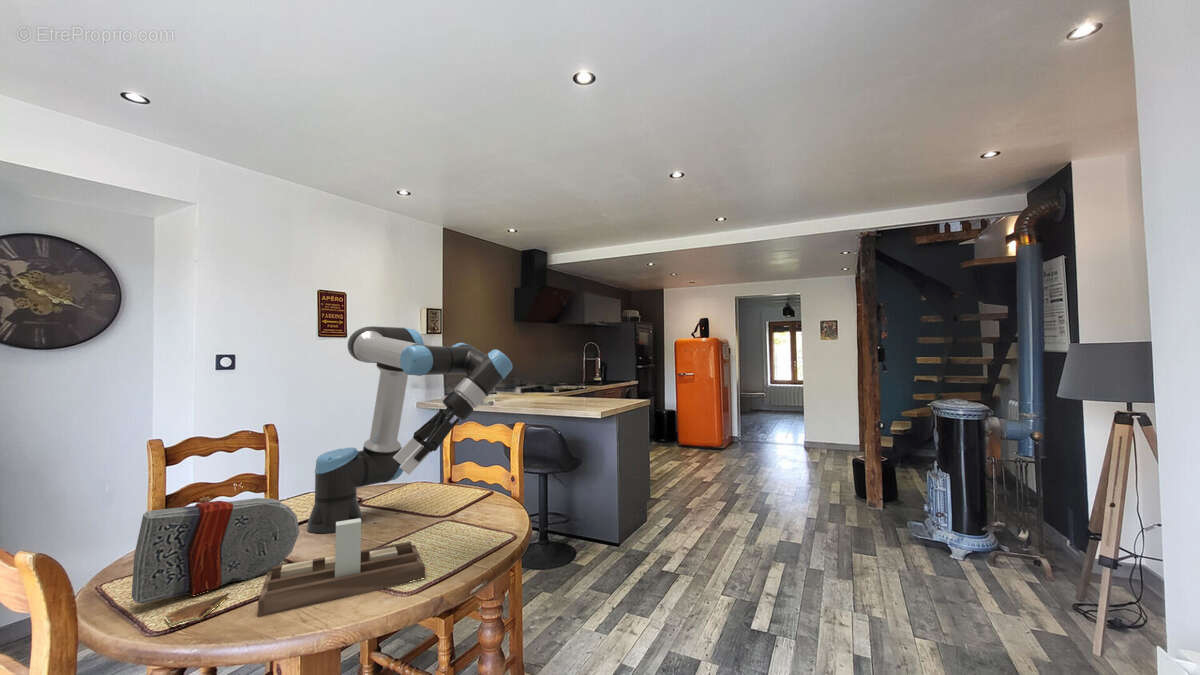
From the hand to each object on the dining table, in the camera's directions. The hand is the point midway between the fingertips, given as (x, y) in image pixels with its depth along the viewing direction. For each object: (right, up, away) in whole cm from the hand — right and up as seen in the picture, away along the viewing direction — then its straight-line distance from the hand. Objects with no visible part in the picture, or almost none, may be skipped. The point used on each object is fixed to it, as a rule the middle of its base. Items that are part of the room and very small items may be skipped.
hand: (400, 466), depth 113 cm
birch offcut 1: (-21, -26, -5) cm, 34 cm away
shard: (-36, -27, -16) cm, 48 cm away
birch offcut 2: (-14, -27, -1) cm, 30 cm away
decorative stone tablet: (-40, -27, -3) cm, 48 cm away
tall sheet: (-9, -26, -7) cm, 28 cm away
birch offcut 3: (-6, -27, +4) cm, 28 cm away
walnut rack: (-12, -26, -2) cm, 29 cm away
